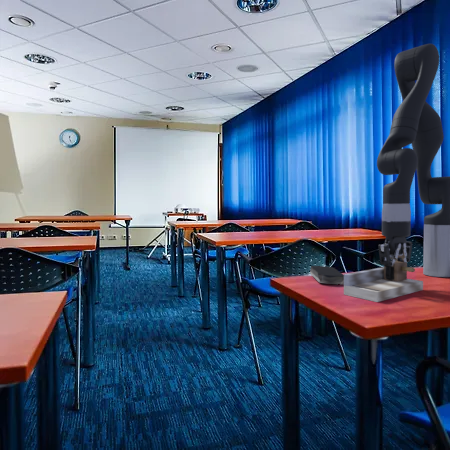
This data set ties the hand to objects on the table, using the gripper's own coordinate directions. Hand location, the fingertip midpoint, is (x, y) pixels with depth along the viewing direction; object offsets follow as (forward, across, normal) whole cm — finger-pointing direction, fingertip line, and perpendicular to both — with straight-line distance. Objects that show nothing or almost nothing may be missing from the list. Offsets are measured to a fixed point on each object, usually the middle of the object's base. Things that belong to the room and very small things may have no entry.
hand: (395, 278), depth 106 cm
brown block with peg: (0, 0, +2) cm, 2 cm away
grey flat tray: (+3, +7, +1) cm, 8 cm away
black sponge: (+3, +6, -20) cm, 21 cm away
